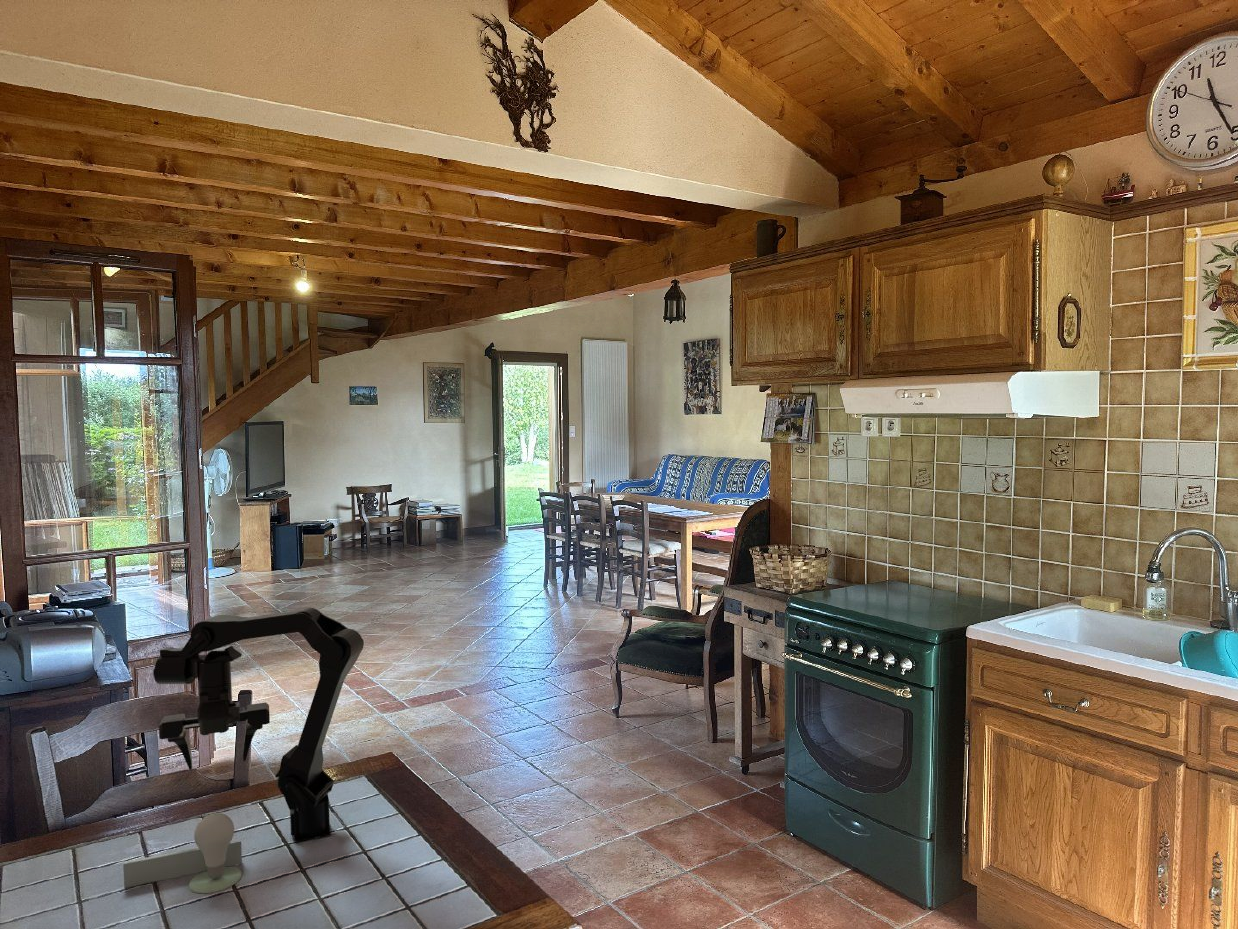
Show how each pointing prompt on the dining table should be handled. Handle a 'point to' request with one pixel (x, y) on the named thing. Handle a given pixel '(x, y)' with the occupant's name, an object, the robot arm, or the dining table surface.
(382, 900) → the dining table surface
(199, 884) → the pad
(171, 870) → the grey-green flat bar
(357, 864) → the dining table surface
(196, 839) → the lightbulb
